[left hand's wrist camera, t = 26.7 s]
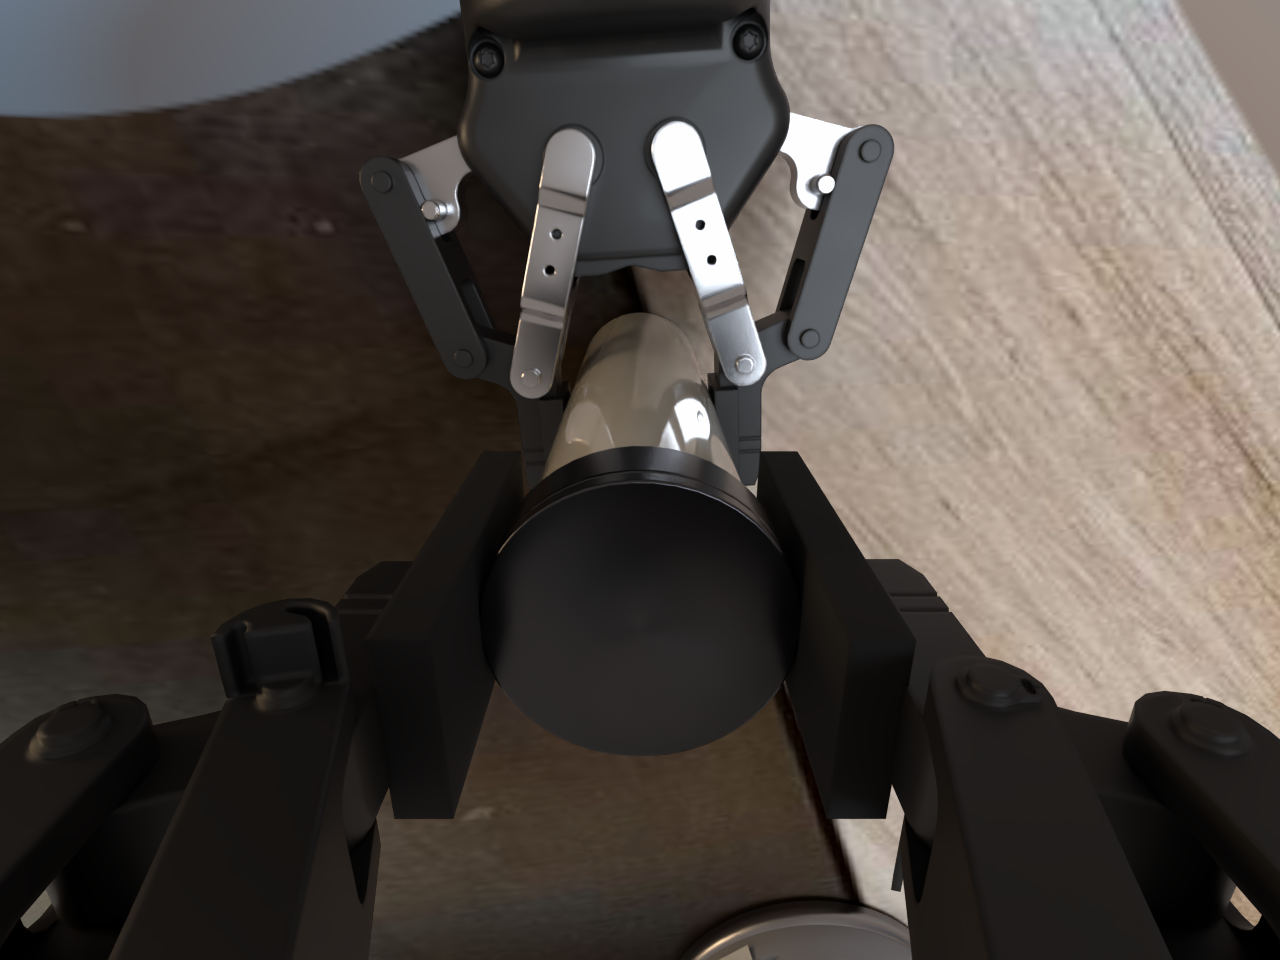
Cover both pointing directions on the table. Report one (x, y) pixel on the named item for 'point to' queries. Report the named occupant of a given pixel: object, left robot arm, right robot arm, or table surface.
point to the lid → (640, 603)
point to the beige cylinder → (640, 396)
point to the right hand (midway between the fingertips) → (646, 497)
